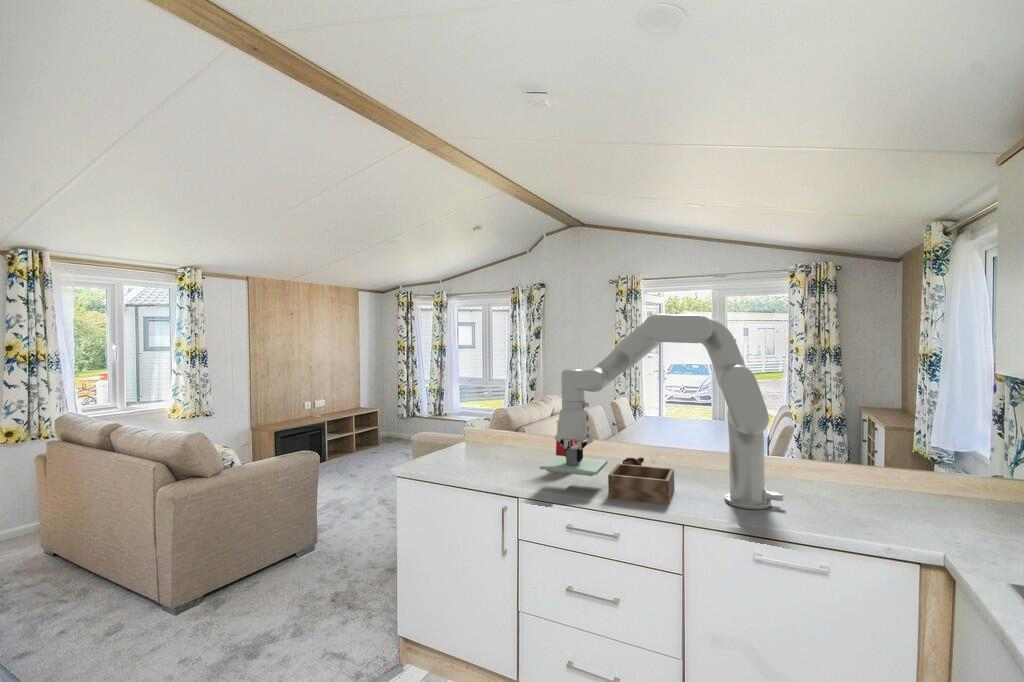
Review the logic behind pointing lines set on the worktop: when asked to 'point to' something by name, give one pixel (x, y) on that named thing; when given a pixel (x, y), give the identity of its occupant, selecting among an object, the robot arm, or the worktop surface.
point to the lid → (574, 464)
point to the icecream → (633, 461)
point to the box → (641, 483)
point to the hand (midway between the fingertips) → (574, 459)
